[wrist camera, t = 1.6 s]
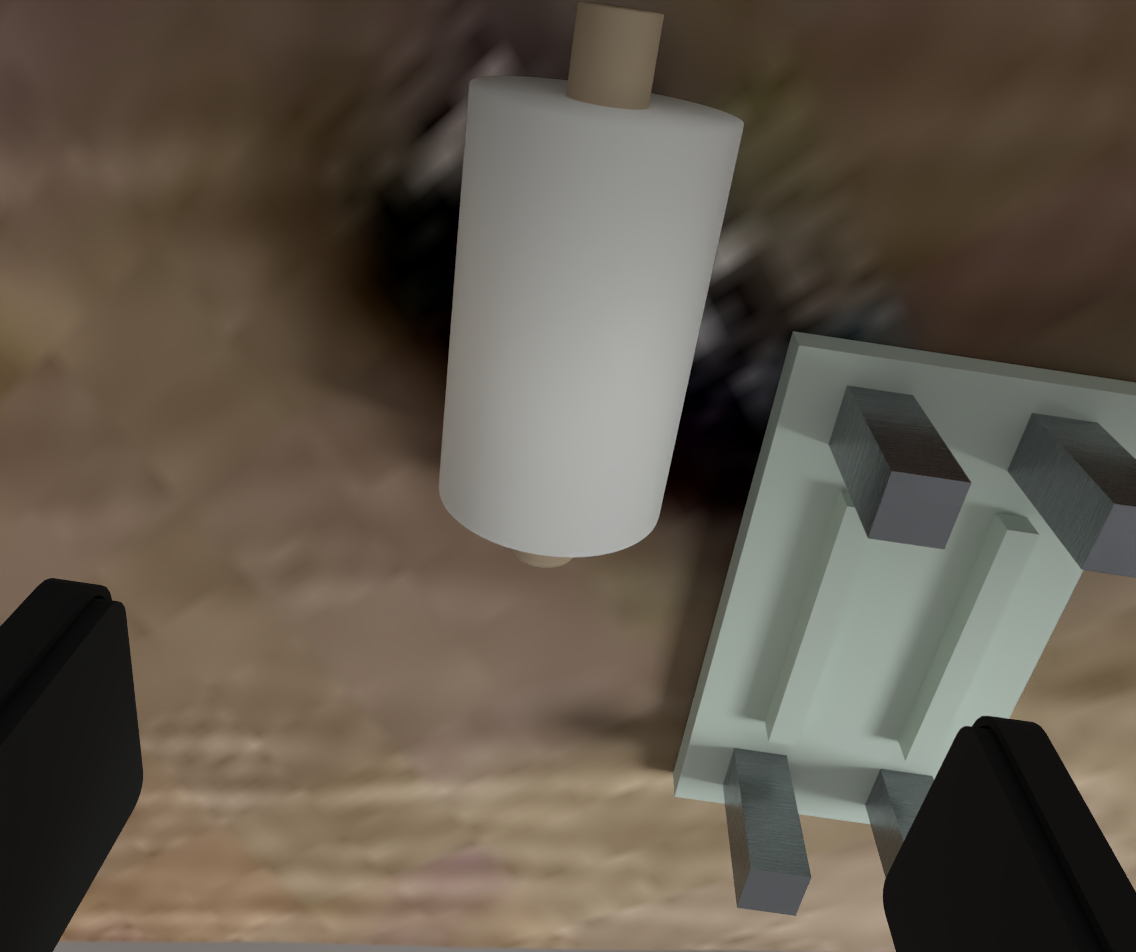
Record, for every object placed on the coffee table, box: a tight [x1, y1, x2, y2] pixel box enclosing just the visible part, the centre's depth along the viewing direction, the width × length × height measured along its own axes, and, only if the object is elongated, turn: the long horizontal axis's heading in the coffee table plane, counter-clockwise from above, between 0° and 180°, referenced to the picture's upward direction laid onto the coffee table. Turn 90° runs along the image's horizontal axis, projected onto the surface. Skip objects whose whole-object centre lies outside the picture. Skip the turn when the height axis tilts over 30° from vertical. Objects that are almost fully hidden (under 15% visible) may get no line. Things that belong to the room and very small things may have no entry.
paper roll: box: [439, 1, 744, 568], centre depth 25 cm, size 7×15×7 cm, turn 172°
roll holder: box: [673, 331, 1136, 916], centre depth 30 cm, size 11×19×6 cm, turn 172°
